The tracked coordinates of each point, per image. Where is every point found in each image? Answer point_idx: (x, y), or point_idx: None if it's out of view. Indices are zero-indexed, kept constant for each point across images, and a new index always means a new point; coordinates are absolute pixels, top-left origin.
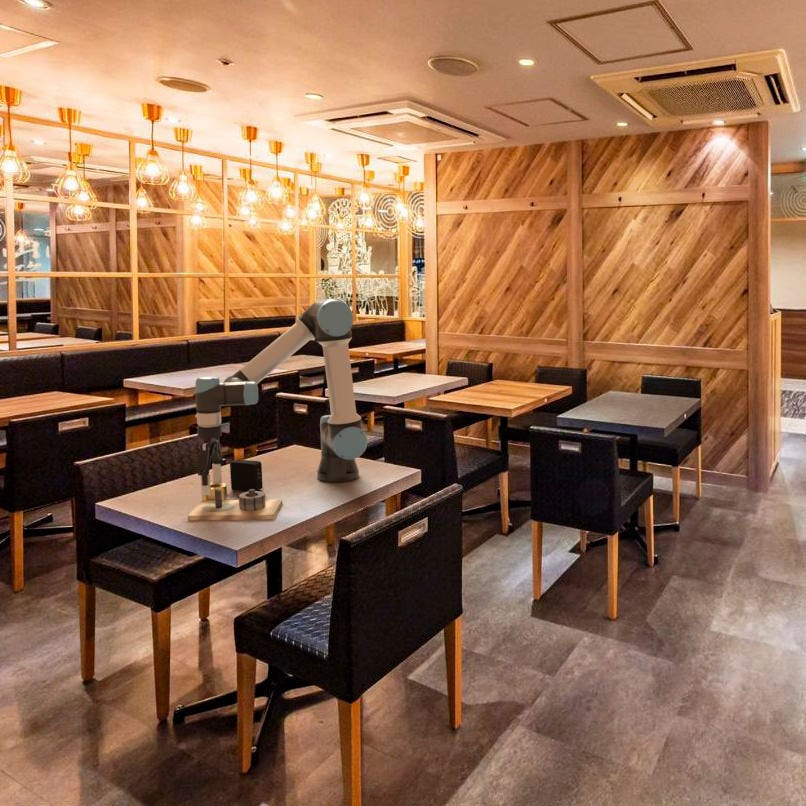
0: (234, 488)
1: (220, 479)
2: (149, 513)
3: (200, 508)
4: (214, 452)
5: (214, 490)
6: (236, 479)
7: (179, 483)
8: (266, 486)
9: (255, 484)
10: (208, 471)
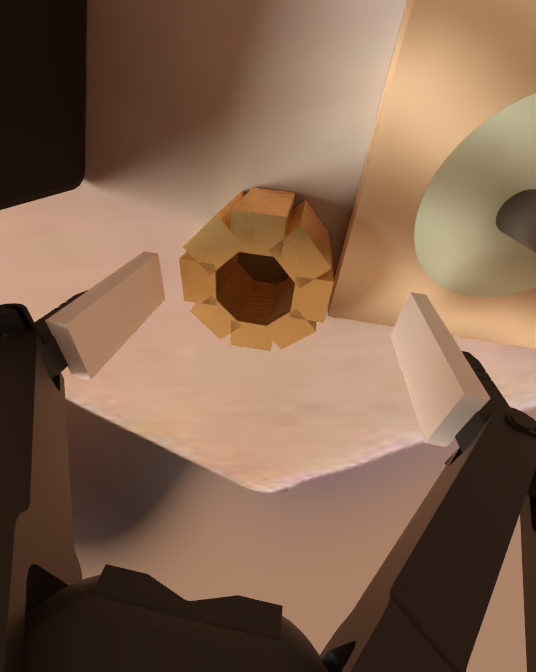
0: (77, 165)
1: (144, 266)
2: (373, 434)
3: (470, 310)
4: (46, 514)
5: (333, 278)
6: (27, 151)
7: (67, 383)
8: None
9: None
10: (522, 441)
